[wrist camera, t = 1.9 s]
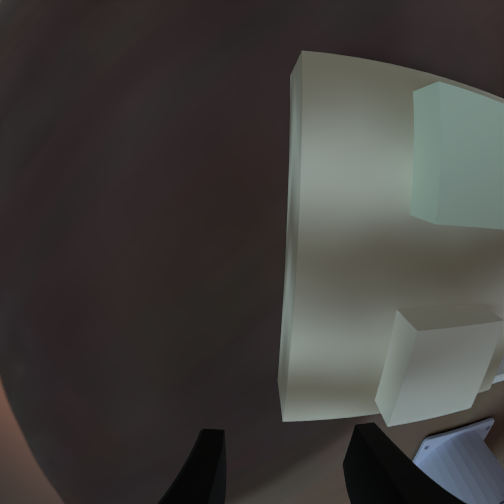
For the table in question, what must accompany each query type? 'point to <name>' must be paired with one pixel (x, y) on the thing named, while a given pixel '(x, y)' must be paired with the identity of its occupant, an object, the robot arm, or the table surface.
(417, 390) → the tile cream
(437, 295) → the bench board
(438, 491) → the robot arm
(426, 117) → the tile sage
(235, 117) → the table surface
